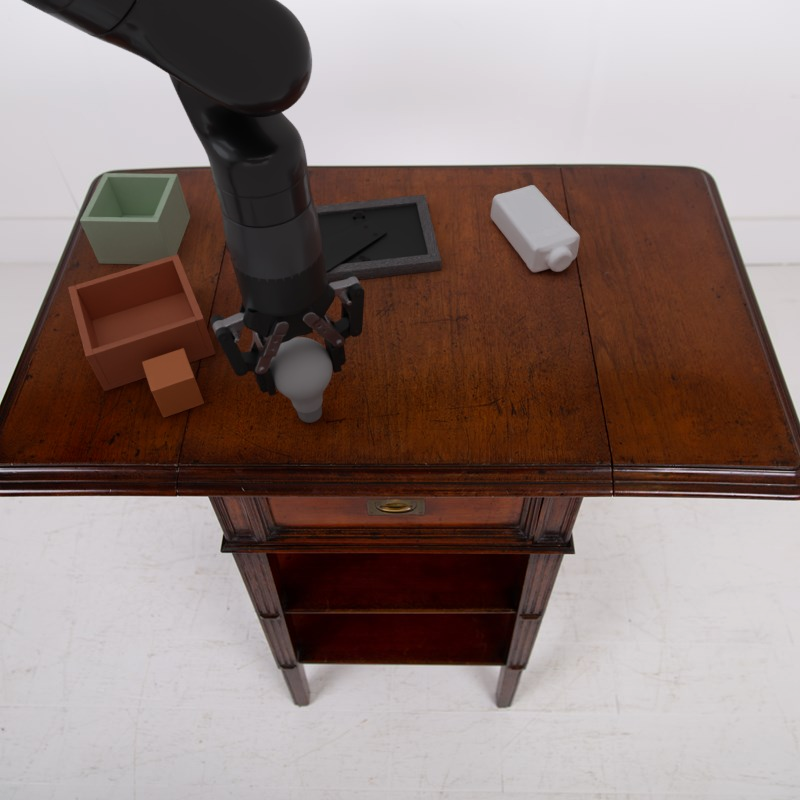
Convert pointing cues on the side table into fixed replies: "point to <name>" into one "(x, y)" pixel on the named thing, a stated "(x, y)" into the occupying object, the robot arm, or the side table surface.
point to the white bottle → (535, 229)
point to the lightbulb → (302, 375)
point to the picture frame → (378, 238)
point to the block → (172, 382)
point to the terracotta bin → (138, 320)
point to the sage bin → (136, 218)
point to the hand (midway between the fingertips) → (303, 377)
